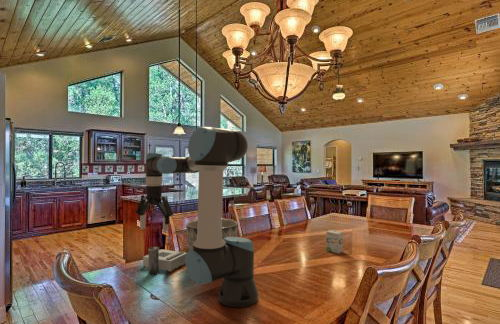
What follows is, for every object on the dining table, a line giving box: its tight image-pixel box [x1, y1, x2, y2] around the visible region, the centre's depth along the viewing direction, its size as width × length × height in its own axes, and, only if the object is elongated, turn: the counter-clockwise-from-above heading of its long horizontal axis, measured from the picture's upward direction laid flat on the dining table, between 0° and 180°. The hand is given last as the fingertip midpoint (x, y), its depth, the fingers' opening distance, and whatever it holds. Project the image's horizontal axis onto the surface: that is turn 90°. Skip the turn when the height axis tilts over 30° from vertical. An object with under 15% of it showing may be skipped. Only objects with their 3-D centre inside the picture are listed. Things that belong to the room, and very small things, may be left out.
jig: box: [142, 249, 188, 272], centre depth 148 cm, size 14×17×6 cm
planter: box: [185, 218, 239, 253], centre depth 145 cm, size 26×26×22 cm
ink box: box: [325, 229, 344, 254], centre depth 171 cm, size 8×5×12 cm, turn 44°
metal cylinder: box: [147, 246, 160, 275], centre depth 136 cm, size 5×5×12 cm
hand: (153, 230), depth 136 cm, fingers open, 13 cm apart
